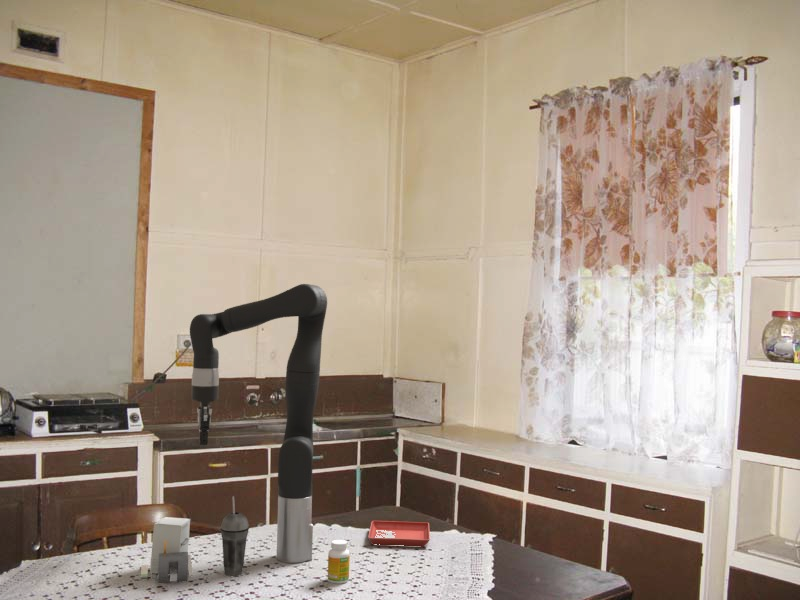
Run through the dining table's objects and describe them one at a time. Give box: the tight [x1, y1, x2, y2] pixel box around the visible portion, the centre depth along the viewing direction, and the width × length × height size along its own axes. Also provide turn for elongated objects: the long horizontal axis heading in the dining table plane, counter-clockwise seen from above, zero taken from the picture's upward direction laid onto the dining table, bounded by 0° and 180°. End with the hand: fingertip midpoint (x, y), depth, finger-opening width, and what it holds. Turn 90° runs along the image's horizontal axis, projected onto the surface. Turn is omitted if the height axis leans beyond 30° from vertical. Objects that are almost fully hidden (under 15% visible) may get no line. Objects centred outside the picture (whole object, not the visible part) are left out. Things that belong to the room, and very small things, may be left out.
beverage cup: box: [220, 495, 250, 577], centre depth 198 cm, size 7×7×20 cm
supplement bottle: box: [327, 539, 351, 585], centre depth 195 cm, size 5×5×10 cm
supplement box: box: [149, 516, 191, 575], centre depth 198 cm, size 7×7×13 cm
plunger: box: [164, 541, 178, 582], centre depth 189 cm, size 5×10×8 cm, turn 17°
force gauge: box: [140, 551, 194, 584], centre depth 199 cm, size 13×20×6 cm, turn 17°
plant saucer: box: [367, 520, 431, 548], centre depth 232 cm, size 18×18×3 cm
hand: (203, 444), depth 220 cm, fingers closed
